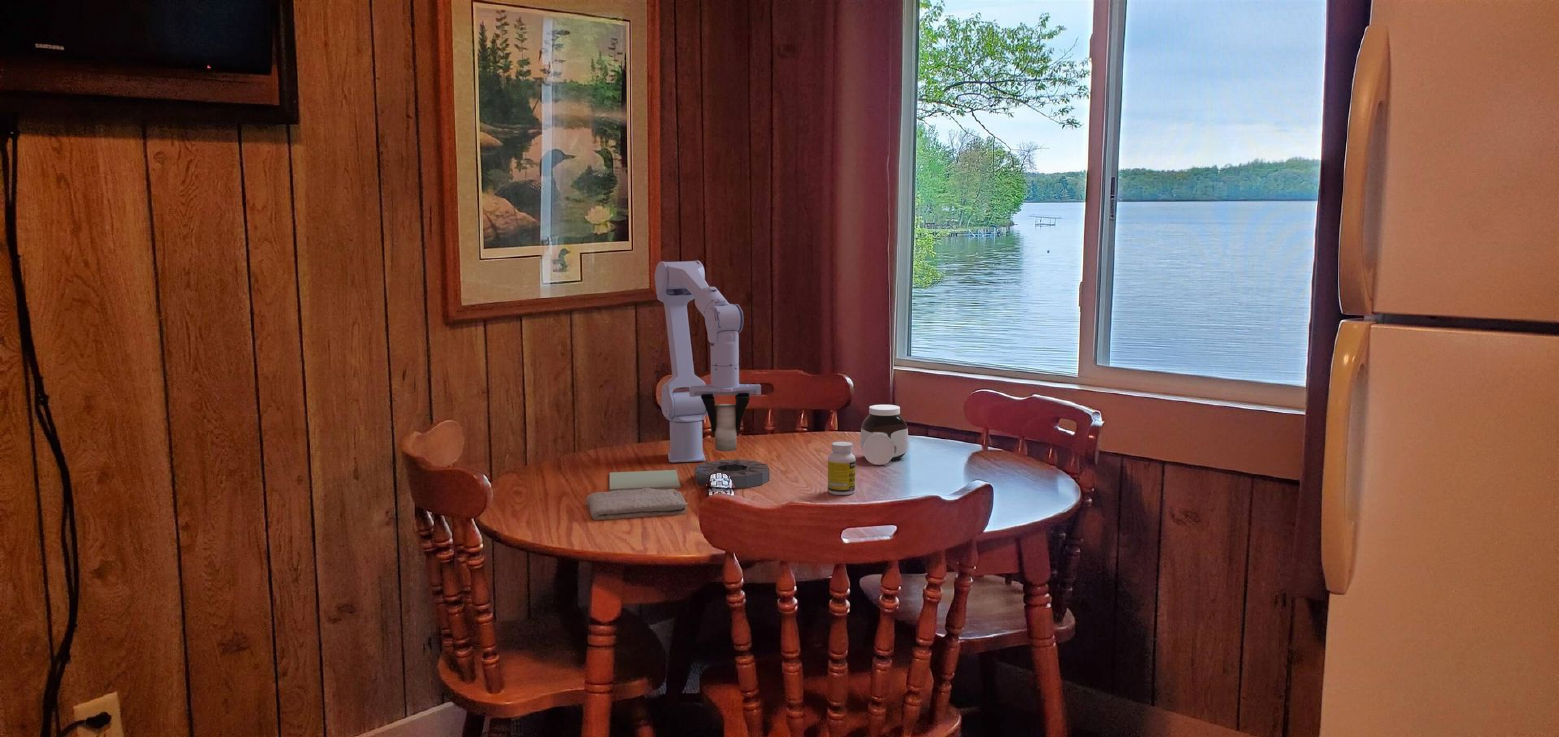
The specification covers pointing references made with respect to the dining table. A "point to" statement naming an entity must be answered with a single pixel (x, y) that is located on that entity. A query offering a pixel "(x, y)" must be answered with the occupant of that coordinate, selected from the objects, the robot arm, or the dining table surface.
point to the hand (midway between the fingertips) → (725, 430)
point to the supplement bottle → (841, 469)
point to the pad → (644, 480)
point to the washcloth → (635, 503)
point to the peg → (725, 427)
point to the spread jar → (884, 434)
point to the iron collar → (734, 472)
